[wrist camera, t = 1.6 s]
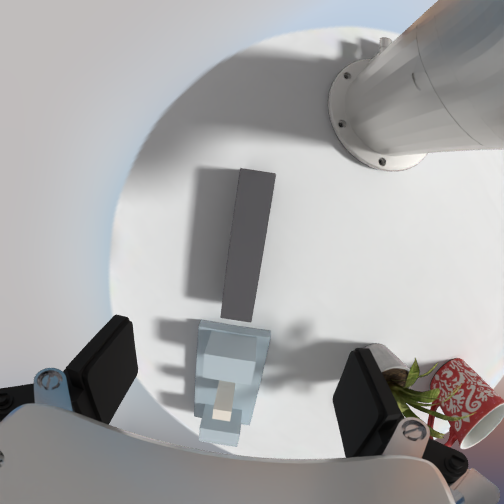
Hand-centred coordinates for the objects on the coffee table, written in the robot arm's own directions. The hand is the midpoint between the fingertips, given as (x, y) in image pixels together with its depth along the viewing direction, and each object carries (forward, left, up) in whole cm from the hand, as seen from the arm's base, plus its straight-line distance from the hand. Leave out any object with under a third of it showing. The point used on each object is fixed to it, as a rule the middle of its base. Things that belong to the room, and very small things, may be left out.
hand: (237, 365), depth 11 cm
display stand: (+17, -1, -19) cm, 25 cm away
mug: (+17, +33, -19) cm, 42 cm away
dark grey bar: (-1, -1, -19) cm, 19 cm away
